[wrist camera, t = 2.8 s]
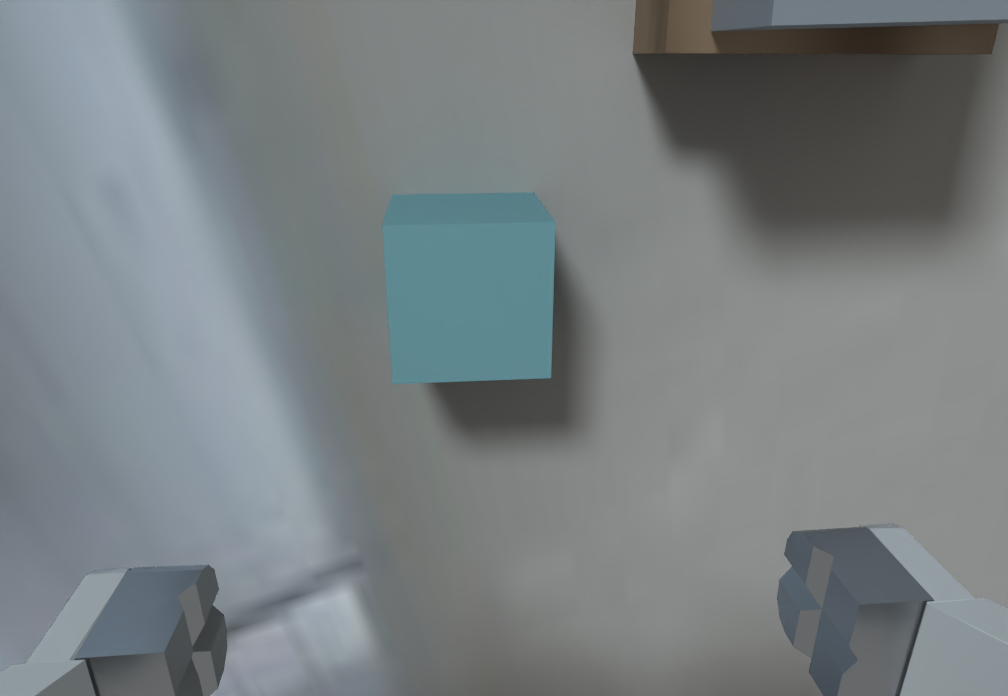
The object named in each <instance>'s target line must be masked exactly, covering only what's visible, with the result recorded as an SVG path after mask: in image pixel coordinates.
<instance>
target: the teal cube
mask: <svg viewBox="0 0 1008 696" xmlns="http://www.w3.org/2000/svg"><path fill="white" fill-rule="evenodd" d="M555 225H556V222H555V221H554V219H553V218H552V217H551V215H550V214H549V213H548V211H547V210H546V208H545V207H544V206H543V204H542V203H541V202H540V200H539V199H538V197H537V196H536V195H535V193H477V194H412V195H392V197H391V200H390V203H389V206H388V209H387V212H386V215H385V218H384V221H383V225H382V230H383V245H384V261H385V276H386V291H387V306H388V321H389V337H390V352H391V367H392V382H393V384H408V383H435V382H462V381H489V380H516V379H543V378H551V365H552V330H553V295H554V260H555Z"/></svg>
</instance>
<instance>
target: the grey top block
mask: <svg viewBox="0 0 1008 696" xmlns="http://www.w3.org/2000/svg"><path fill="white" fill-rule="evenodd" d="M996 23H1008V0H713V8H712V21H711V31H743V30H780V29H817V28H853V27H890V26H927V25H963V24H996Z"/></svg>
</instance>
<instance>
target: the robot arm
mask: <svg viewBox="0 0 1008 696" xmlns="http://www.w3.org/2000/svg"><path fill="white" fill-rule="evenodd" d="M784 555H785V556H786V558H787V559H788V561H789V562H790V564H791V565H792V567H791V568H790V569H789V570H788V571H787V572H786V573H785V574H784V575H783V576H782V577H781V578H780V579H779V586H778V594H777V603H778V610H779V618H780V620H781V623H782V626H783V628H784V631H785V633H786V635H787V637H788V638H789V640H790V642H791V644H792V645H793V647H795V648H796V649H798V650H800V651H801V652H803V653H804V654H806V655H807V656H809V657H810V658H811V663H810V668H809V673H810V675H811V676H812V678H813V680H814V681H815V683H816V685H817V686H818V688H819V689H820V691H821V693H822V694H823V696H1008V609H1007V608H1005V607H1003V606H1001V605H999V604H997V603H995V602H992V601H990V600H988V599H986V598H980V599H974V598H973V597H972V596H971V595H970V594H969V593H968V592H967V591H966V590H965V589H964V588H963V587H962V586H961V585H960V584H959V583H958V582H957V581H956V580H955V579H954V578H953V577H952V576H951V575H950V574H949V573H948V572H947V571H946V570H945V569H944V568H943V567H942V566H941V565H940V564H939V563H938V562H937V561H936V560H935V559H934V558H933V557H932V556H931V555H930V554H929V553H928V552H927V551H926V550H925V549H924V548H923V547H922V546H921V545H920V544H919V543H918V542H917V541H916V540H915V539H914V538H913V537H912V536H911V535H910V534H909V533H908V532H907V531H906V530H905V529H904V528H903V527H901V526H898V525H896V524H894V523H888V524H876V525H864V526H859V527H851V528H835V529H819V530H804V531H792V533H791V534H790V536H789V538H788V539H787V542H786V547H785V552H784ZM218 590H219V588H218V583H217V579H216V575H215V571H214V569H213V568H212V567H210V566H209V565H193V566H166V567H138V568H133V569H130V568H123V569H102V570H94V571H93V572H91V573H89V574H87V575H86V576H85V577H84V578H83V580H82V581H81V583H80V584H79V586H78V587H77V589H76V590H75V591H74V593H73V594H72V596H71V597H70V599H69V600H68V602H67V603H66V605H65V606H64V608H63V609H62V610H61V612H60V613H59V615H58V616H57V618H56V619H55V621H54V622H53V624H52V625H51V627H50V628H49V629H48V631H47V632H46V634H45V635H44V637H43V638H42V640H41V641H40V643H39V644H38V646H37V647H36V648H35V650H34V651H33V653H32V654H31V656H30V657H29V659H28V660H27V662H26V663H25V664H13V665H11V666H9V667H8V668H6V669H5V670H3V671H2V672H0V696H210V695H211V694H212V693H213V692H214V691H215V690H216V689H217V688H218V686H219V683H220V680H221V677H222V674H223V671H224V665H225V658H226V651H227V629H226V624H225V618H224V615H223V614H222V613H221V612H220V611H219V610H218V609H216V608H215V607H214V606H213V602H214V600H215V597H216V595H217V592H218Z"/></svg>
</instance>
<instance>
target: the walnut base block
mask: <svg viewBox="0 0 1008 696" xmlns="http://www.w3.org/2000/svg"><path fill="white" fill-rule="evenodd" d="M712 8H713V0H636V12H635V27H634V42H633V54H891V55H929V54H992V50H993V46H994V42H995V37H996V33H997V29H998V25H999V23H996V24H963V25H927V26H890V27H853V28H817V29H780V30H743V31H711V21H712Z"/></svg>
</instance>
